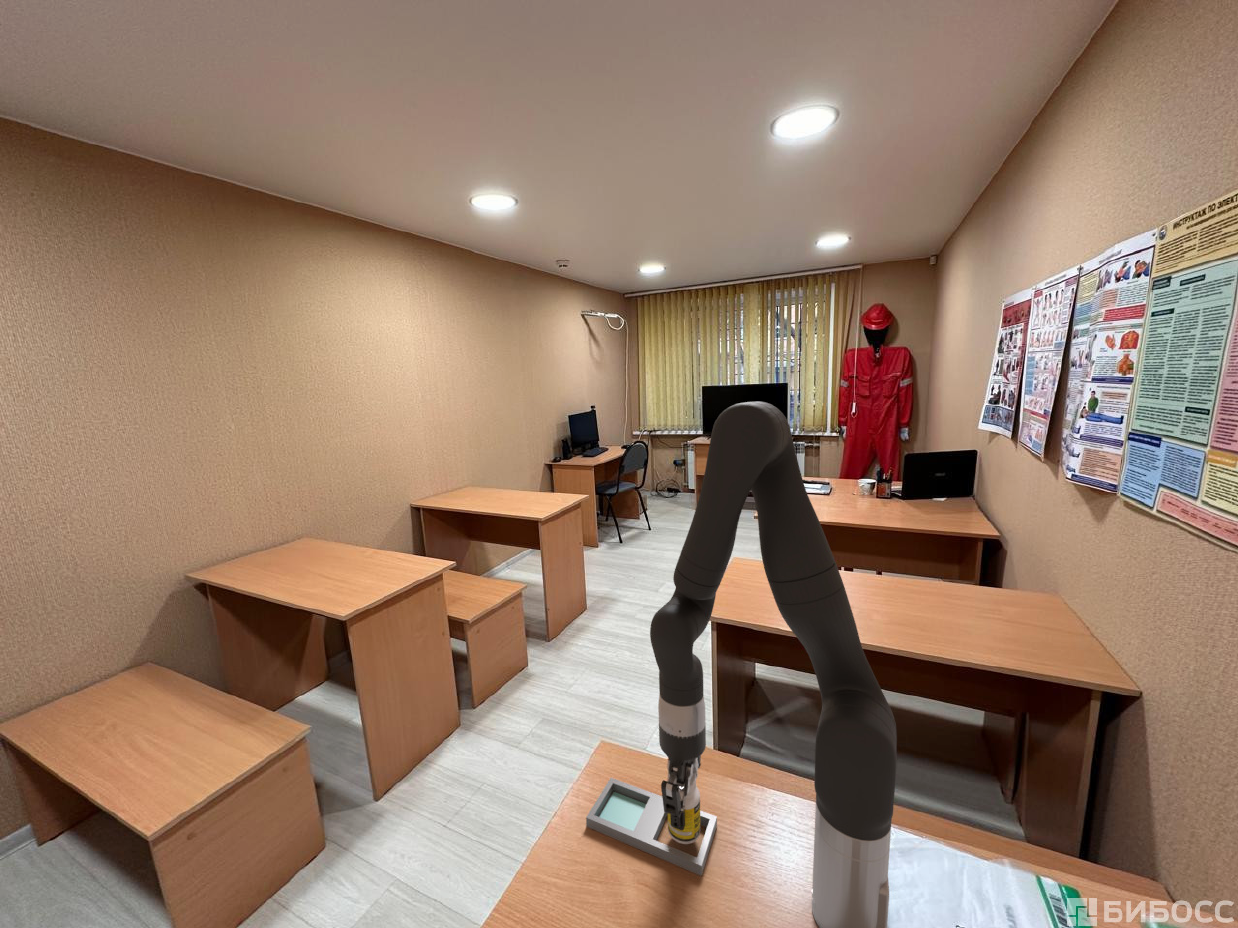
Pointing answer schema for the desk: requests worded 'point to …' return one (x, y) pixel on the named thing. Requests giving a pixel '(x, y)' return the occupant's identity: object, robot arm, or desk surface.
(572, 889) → the desk surface
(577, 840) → the desk surface
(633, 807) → the frame
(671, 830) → the supplement bottle
